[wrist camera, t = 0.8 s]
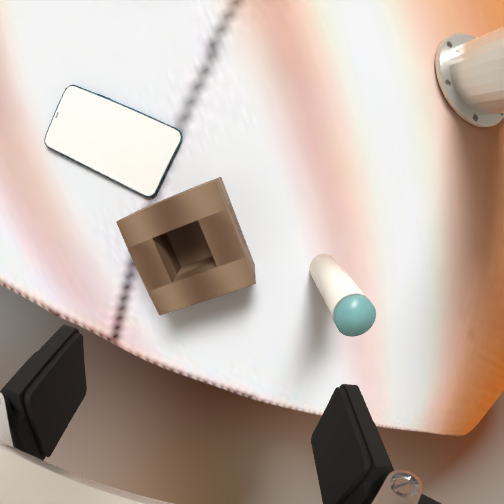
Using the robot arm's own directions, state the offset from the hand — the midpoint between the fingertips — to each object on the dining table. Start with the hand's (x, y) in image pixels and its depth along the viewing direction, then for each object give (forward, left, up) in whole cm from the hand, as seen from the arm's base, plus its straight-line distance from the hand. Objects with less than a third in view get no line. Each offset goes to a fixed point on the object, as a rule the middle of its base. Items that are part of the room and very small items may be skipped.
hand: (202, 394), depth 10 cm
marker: (-8, +7, -25) cm, 27 cm away
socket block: (+4, -1, -25) cm, 25 cm away
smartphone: (+9, -15, -25) cm, 31 cm away
